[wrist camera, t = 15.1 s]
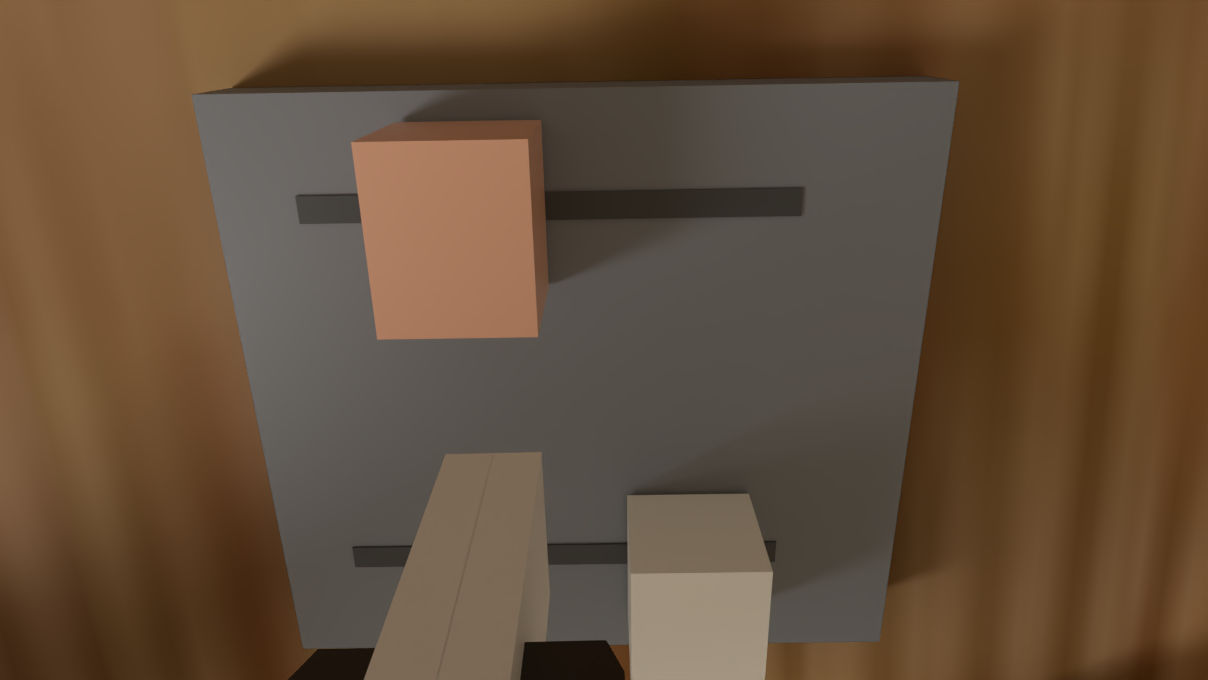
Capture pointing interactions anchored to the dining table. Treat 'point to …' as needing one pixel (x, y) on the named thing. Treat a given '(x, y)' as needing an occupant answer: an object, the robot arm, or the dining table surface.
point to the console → (601, 332)
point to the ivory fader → (697, 588)
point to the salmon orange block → (454, 228)
